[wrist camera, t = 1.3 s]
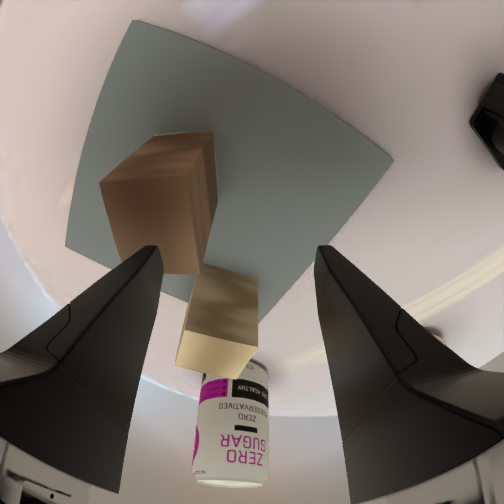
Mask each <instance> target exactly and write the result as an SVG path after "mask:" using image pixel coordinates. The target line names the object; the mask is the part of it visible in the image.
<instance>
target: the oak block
mask: <svg viewBox="0 0 504 504" xmlns="http://www.w3.org/2000/svg"><path fill="white" fill-rule="evenodd" d="M257 348H258V278H254V277H251V276H247V275H243V274H240V273H236V272H233V271H229V270H225V269H222V268H218V267H215V266H211V265H208V264H204V263H203V265H202V269H201V273H200V274H197V275H196V278H195V281H194V285H193V288H192V292H191V295H190V299H189V302H188V306H187V311H186V315H185V319H184V324H183V328H182V333H181V337H180V342H179V347H178V351H177V356H176V361H175V366H177V367H181V368H185V369H189V370H193V371H198V372H202V373H206V374H211V375H216V376H221V377H225V378H231V379H237V378H238V376H239V375H240V373H241V372H242V370H243V369H244V367H245V366H246V364H247V363H248V361H249V360H250V358H251V357H252V355H253V354H254V352H255V351H256V349H257Z"/></svg>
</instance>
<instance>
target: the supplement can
mask: <svg viewBox="0 0 504 504" xmlns="http://www.w3.org/2000/svg"><path fill="white" fill-rule="evenodd" d="M268 417H269V412H268V374H267V373H266V372H265V370H264V369H262V368H261V367H260V366H259V365H257V364H255V363H253V362H251V361H248V363H247V364H246V366H245V367H244V369H243V370H242V372H241V373H240V375H239V376H238V378H237V379H231V378H225V377H221V376H216V375H211V374H206V373H203V377H202V385H201V393H200V401H199V409H198V417H197V426H196V435H195V443H194V453H193V462H192V470H193V472H194V474H195V476H196V478H197V482H199V483H201V484H205V485H210V486H217V487H227V488H254V487H261V486H263V483H264V481H265V480H266V478H267V476H268V475H269V418H268Z"/></svg>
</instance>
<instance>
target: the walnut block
mask: <svg viewBox="0 0 504 504" xmlns="http://www.w3.org/2000/svg"><path fill="white" fill-rule="evenodd" d="M99 185H100V189H101V193H102V197H103V201H104V205H105V209H106V213H107V216H108V220H109V223H110V227H111V230H112V234H113V237H114V240H115V244H116V247H117V250H118V253H119V256H120V259H121V262H123V261H125V260H126V259H127V258H129V257H130V256H132V255H133V254H134V253H136V252H137V251H138V250H140V249H141V248H143V247H144V246H146V245H157V246H158V247H159V249H160V253H161V258H162V262H163V266H164V274H200V273H201V269H202V265H203V260H204V256H205V252H206V248H207V244H208V239H209V235H210V231H211V227H212V223H213V219H214V215H215V211H216V207H217V204H218V200H219V199H218V185H217V171H216V155H215V138H214V131H196V132H182V133H171V134H161V135H154V136H153V137H152V138H150V139H149V140H148V141H147V142H145V143H144V144H143V145H142V146H140V147H139V148H138V149H137V150H135V151H134V152H133V153H132V154H131V155H129V156H128V157H127V158H126V159H125V160H124V161H122V162H121V163H120V164H119V165H118V166H117V167H116V168H114V169H113V170H112V171H111V172H110V173H109V174H108V175H107V176H105V177H104V178H103V179H102V180H101V181H100V182H99Z"/></svg>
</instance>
